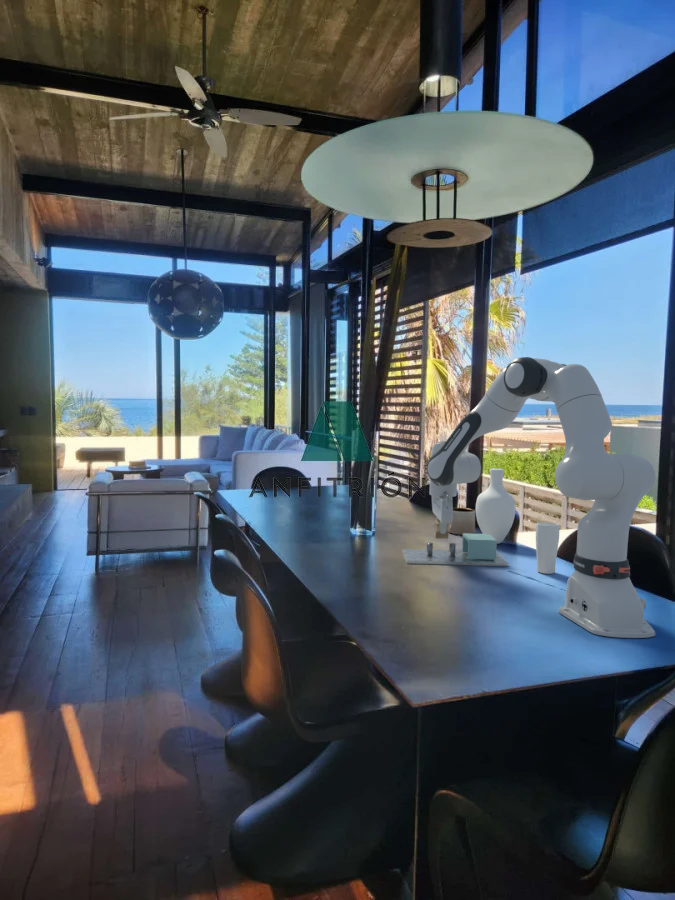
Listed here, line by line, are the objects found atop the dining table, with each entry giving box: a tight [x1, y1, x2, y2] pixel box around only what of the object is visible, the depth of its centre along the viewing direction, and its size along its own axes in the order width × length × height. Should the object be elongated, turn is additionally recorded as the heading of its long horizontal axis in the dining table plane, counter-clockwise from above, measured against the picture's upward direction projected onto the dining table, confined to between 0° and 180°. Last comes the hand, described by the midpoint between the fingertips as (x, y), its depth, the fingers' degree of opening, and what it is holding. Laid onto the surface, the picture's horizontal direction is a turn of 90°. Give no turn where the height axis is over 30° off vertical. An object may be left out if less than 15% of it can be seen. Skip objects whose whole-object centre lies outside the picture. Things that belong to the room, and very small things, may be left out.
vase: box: [475, 467, 516, 545], centre depth 219 cm, size 14×14×28 cm
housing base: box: [401, 542, 509, 567], centre depth 194 cm, size 16×32×5 cm, turn 89°
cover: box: [461, 533, 498, 560], centre depth 194 cm, size 10×9×6 cm
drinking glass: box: [535, 521, 560, 575], centre depth 179 cm, size 7×7×15 cm
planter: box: [448, 507, 476, 536], centre depth 238 cm, size 11×11×10 cm
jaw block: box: [433, 520, 449, 540], centre depth 194 cm, size 4×4×5 cm
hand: (441, 531), depth 194 cm, fingers closed on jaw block, 4 cm apart
